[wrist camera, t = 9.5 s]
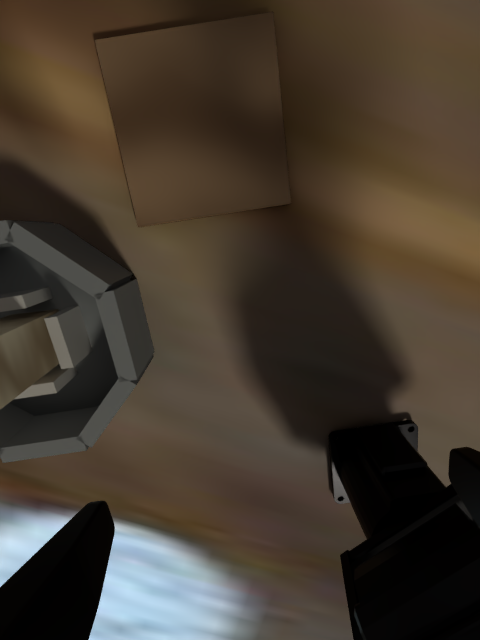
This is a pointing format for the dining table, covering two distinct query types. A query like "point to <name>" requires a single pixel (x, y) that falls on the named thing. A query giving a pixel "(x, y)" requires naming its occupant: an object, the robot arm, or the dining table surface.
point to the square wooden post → (24, 352)
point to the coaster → (198, 118)
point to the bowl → (70, 338)
